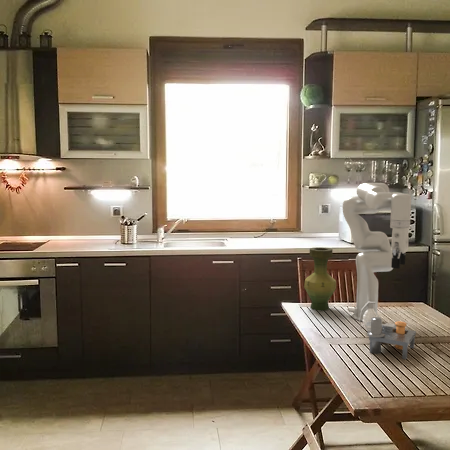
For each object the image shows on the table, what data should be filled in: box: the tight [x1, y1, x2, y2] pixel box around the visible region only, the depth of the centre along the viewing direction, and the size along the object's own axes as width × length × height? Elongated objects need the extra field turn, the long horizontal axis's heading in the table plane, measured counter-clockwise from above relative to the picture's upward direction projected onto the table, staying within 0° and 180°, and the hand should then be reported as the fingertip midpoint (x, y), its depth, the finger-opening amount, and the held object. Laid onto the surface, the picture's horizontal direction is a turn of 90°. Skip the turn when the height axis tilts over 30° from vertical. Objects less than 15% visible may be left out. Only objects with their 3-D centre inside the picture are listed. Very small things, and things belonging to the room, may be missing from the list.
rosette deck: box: [366, 317, 417, 360], centre depth 192 cm, size 18×17×13 cm
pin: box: [394, 321, 407, 350], centre depth 194 cm, size 4×4×10 cm
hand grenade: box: [358, 302, 378, 332], centre depth 214 cm, size 8×6×13 cm
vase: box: [303, 246, 337, 312], centre depth 249 cm, size 16×16×30 cm
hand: (398, 266), depth 202 cm, fingers open, 9 cm apart
